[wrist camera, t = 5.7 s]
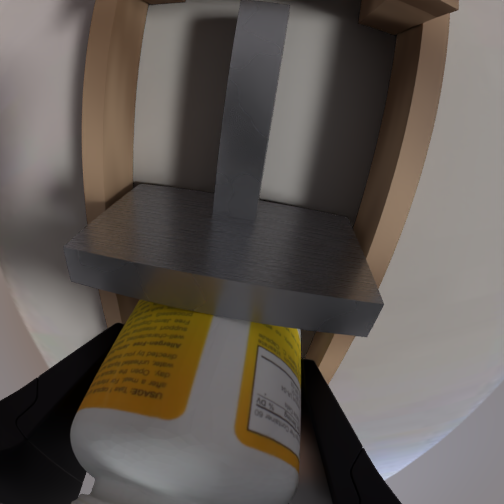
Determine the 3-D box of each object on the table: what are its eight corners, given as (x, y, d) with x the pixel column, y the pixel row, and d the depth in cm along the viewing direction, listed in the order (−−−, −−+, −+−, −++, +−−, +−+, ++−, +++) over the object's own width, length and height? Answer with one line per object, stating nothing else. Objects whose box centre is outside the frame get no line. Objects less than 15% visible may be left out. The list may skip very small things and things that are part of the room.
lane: (284, 427, 18) (281, 477, 14) (148, 401, 18) (131, 448, 14) (423, -41, 4) (479, -79, 1) (150, -74, 4) (97, -118, 1)
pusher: (339, 242, 10) (366, 337, 6) (140, 209, 10) (70, 281, 6) (385, 44, 6) (463, 17, 3) (154, 15, 7) (68, -20, 3)
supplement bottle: (325, 267, 10) (352, 596, 2) (264, 359, 13) (239, 575, 4) (173, 209, 9) (-13, 518, 1) (148, 317, 12) (60, 526, 4)
